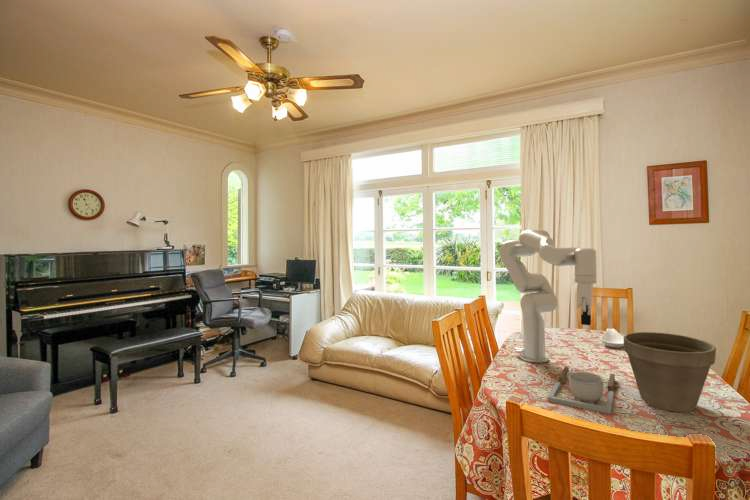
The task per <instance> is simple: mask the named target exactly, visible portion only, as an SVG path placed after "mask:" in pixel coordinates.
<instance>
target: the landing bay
mask: <svg viewBox="0 0 750 500" xmlns="http://www.w3.org/2000/svg"><path fill="white" fill-rule="evenodd" d="M561 385H562V384H560V382H559V381H555V383H554V385H553V387H552V388H551V390H550V392H549V393H548V396H547V402H550V403H555V404H560V405H564V406H569V407H575V408H578V409H583V410H588V411H594V412H598V413H602V414H607V415H612V411H613V404H614V398H615V392H614V391H613V392H612V391H609V392H607V393H608V394H607V399H606V404H605V406H603V405H599V404H593V403H590V402H584V401H580V400H579V401H578V400H573V399H568V398H562V397H558V396H557V394H558V392H559V390H560V387H562V386H561Z"/></svg>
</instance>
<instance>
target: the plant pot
mask: <svg viewBox="0 0 750 500" xmlns="http://www.w3.org/2000/svg"><path fill="white" fill-rule="evenodd" d="M623 337H624V346H623V350H624V352H625V353H626V354H627V358H628V360H629V364H630V366H631V369H632V373H633V376H634V379H635V383H636V386H637V389H638V393H639V395H640V397H641V400H642V401H643V402H644V403H645V404H647V405H648V406H652V407H654V408H656V409H659V410H664V411H668V412H672V413H673V412H674V413H690V412H693V411H694V410H695V409H696V407H697V406H698V403H699V401H700V398H701V394H702V392H703V388H704V387H705V384H706V381H707V378H708V375H709V372H710V369H711V366H712V365H714V364H715V363H716V354H717V347H716V346H715V345H713V344H712V343H710V342H708V341H705V340H702V339H699V338H695V337H690V336H687V335H680V334H674V333H667V332H666V333H665V332H654V331H653V332H652V331H649V332H648V331H641V332H640V331H639V332H630V333H627V334H625V335H624V336H623Z"/></svg>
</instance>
